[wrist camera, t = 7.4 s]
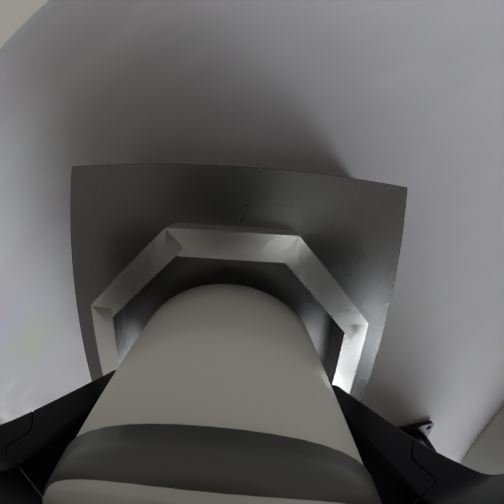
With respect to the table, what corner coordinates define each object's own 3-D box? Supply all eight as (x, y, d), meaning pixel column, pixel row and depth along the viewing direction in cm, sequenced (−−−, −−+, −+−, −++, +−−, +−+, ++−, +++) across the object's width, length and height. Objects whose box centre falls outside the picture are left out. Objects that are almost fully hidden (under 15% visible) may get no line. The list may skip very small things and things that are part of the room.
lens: (328, 287, 9) (464, 466, 2) (300, 426, 10) (333, 580, 3) (133, 274, 9) (-26, 426, 2) (149, 416, 10) (101, 563, 3)
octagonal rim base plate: (357, 186, 14) (425, 188, 8) (321, 397, 17) (346, 468, 11) (123, 171, 14) (53, 165, 8) (134, 385, 16) (102, 453, 10)
